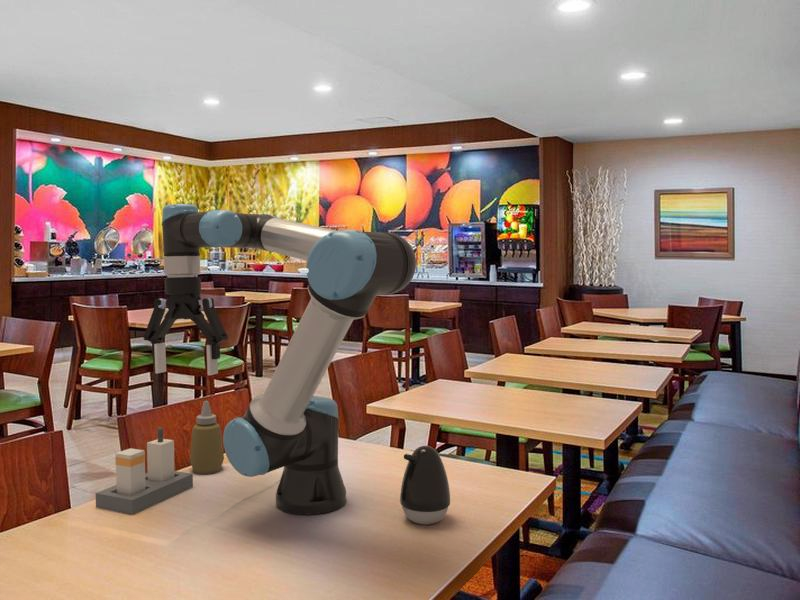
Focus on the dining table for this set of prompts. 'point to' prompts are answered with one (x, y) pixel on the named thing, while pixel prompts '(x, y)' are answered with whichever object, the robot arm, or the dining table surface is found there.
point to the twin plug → (160, 458)
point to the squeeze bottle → (206, 443)
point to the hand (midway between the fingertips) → (186, 373)
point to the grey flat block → (144, 494)
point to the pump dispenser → (425, 487)
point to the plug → (130, 471)
